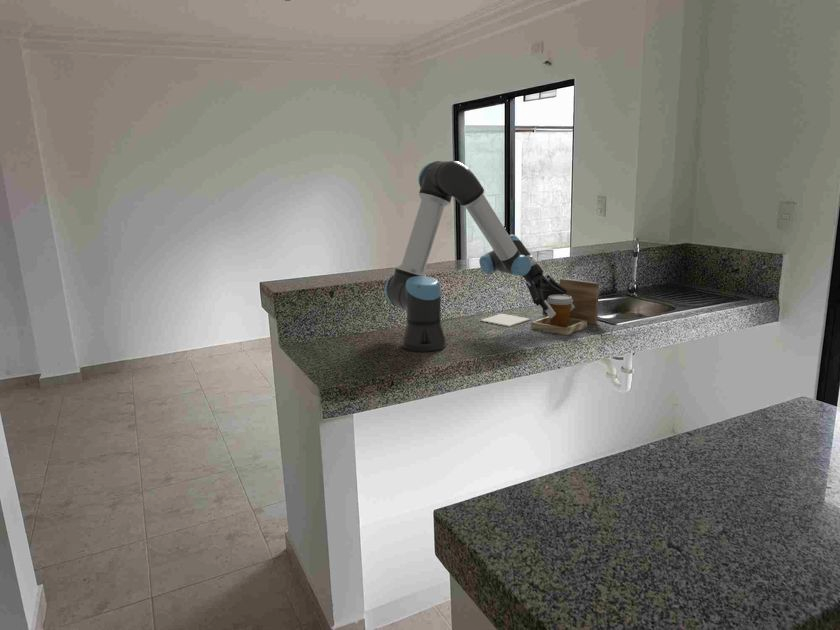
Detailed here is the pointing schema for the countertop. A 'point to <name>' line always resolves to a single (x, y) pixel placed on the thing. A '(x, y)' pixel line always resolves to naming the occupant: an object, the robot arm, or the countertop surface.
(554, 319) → the disposable coffee cup
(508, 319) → the mat
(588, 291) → the brown wooden l-shaped tray
